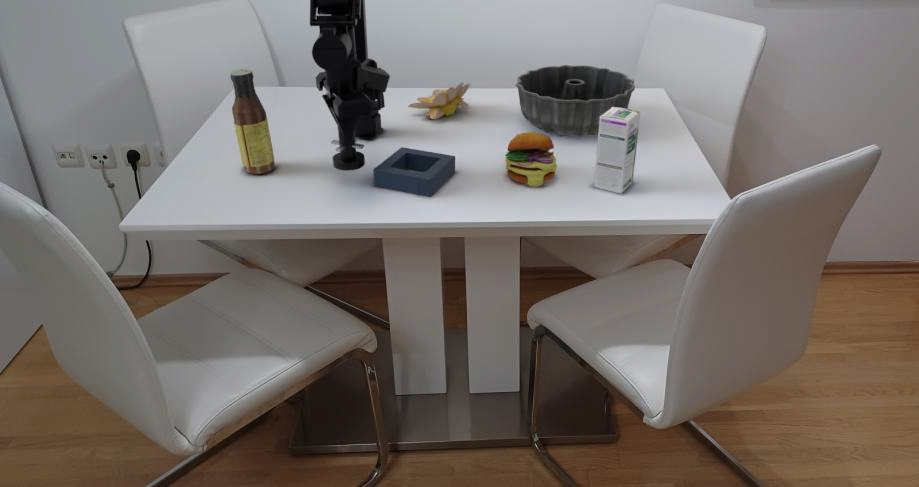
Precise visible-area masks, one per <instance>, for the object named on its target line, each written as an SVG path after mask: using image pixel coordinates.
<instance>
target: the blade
mask: <svg viewBox="0 0 919 487" xmlns="http://www.w3.org/2000/svg"><path fill="white" fill-rule="evenodd" d="M337 124H338V122H337ZM337 124H336V125H337ZM337 133H338V134H337V135H338V139H333V140H331V141H330V144H332V145H337V146H338V147H336V148H335V152H337V153H335V154H334V155H333V156H332V166H333V167H334V168H335V169H337V170H339V171H344V172H345V171H347V172H349V171H356V170H359V169H361V168H363V167H364V166H365V165H366V158H365V154H364V153H363V152H362V151H361V152H360V151H357V149H359V150H362V149H363V148H365V144H362V143H357V142H358V141H359V140H360V138H359V137H355V131H354V134H353V139H352V140H349V141H347V140H346V139H345V137H344V135H343V133H342V131H341V129H340V127H339V124H338V126H337Z"/></svg>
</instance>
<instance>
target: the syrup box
mask: <svg viewBox="0 0 919 487" xmlns="http://www.w3.org/2000/svg"><path fill="white" fill-rule="evenodd" d="M640 117H641V112H640V111H639V110H635V109H631V108H618V107H611V109H610V110H608V111H606V112H605V113H604V114H602V115H601V116H600V121H599V132H598V133H597V134H598V135H597V145H596V157H595V170H594V181H593V186H594V187H595V188H597V189H601V190H604V191H608V192H611V193H616V194H623V192H624V191H625V190H626V189H628V188H629V187H630V186H631V185H632V183H633V182H634V173H635V164H636V155H637V145H638V137H639V128H640V119H641V118H640Z"/></svg>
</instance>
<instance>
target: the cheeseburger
mask: <svg viewBox="0 0 919 487" xmlns="http://www.w3.org/2000/svg"><path fill="white" fill-rule="evenodd" d="M554 146H555V145H554V142H553V140H552V138H551V137H550V136H548V135H546V134H543V133H539V132H534V131H529V132H522V133H518V134H516V135H515V136H514V137H513V138H512V139H510V141H509V143H508V146H507V152H506V154H505V155H504V157H505V163H506V164H505V169H506V171H507V176H508V178H510V179H512V180H513V181H516V182H518V183H522V184H526V185H527V186H529V187H534V188H537V187H540V186H542V185H543V184H544V183H547V182H549V181H550V180H552V179H553V178H554V177H555V175H556V171H557V168H558V166H557V158H556V157H555V155H554V151H551V150H553V149H554V148H555V147H554Z"/></svg>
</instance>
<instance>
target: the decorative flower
mask: <svg viewBox="0 0 919 487" xmlns="http://www.w3.org/2000/svg"><path fill="white" fill-rule="evenodd" d="M464 84H465V83H464V82H460V83H459V84H458V85H457V86H456V87H453V86H452V87H448V88H446V89H440V88H439V89H434V90H432V94H431V95H428V96H427V97H424V96H423V97H422V96H419V97H417V98H416V100H417V101H418V102H413V103H410V104H409V105H408V106H407V107H408V108H412V109H419V110H420V109H421V110H423V109H425V110H426V109H429V111H428V113H427V115H426V116H425V119H432V120H437V119H439V118H441V117H443V116H448V117H449V116H451V115H453V114H454V113H455V112H456V110H457V109H458V108H459V107H461V108H463V109H468V108H469V104H468V103H467V102H466V101H464V100H465V98H463V97H464V95H465V94H466V93H467V92H468V90H469V88H470V86H471V83H466V84H465V85H464Z"/></svg>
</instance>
